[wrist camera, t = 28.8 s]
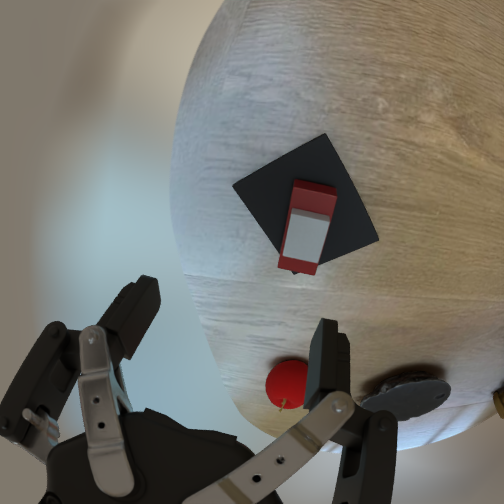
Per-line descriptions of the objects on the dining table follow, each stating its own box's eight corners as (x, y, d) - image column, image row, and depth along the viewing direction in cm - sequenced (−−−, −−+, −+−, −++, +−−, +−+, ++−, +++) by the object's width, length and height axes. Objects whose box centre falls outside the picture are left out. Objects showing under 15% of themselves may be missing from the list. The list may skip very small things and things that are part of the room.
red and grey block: (274, 275, 31) (290, 191, 25) (280, 251, 34) (294, 175, 29) (314, 284, 30) (339, 202, 24) (316, 259, 34) (336, 184, 28)
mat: (233, 184, 31) (231, 186, 31) (325, 132, 26) (325, 133, 25) (294, 272, 36) (293, 275, 36) (378, 237, 31) (379, 240, 30)
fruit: (276, 347, 47) (265, 396, 39) (324, 359, 46) (320, 407, 38) (265, 371, 52) (254, 414, 44) (307, 381, 51) (301, 424, 43)
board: (467, 362, 40) (472, 382, 36) (414, 408, 53) (415, 425, 49) (386, 353, 42) (388, 377, 38) (340, 403, 55) (339, 422, 51)
